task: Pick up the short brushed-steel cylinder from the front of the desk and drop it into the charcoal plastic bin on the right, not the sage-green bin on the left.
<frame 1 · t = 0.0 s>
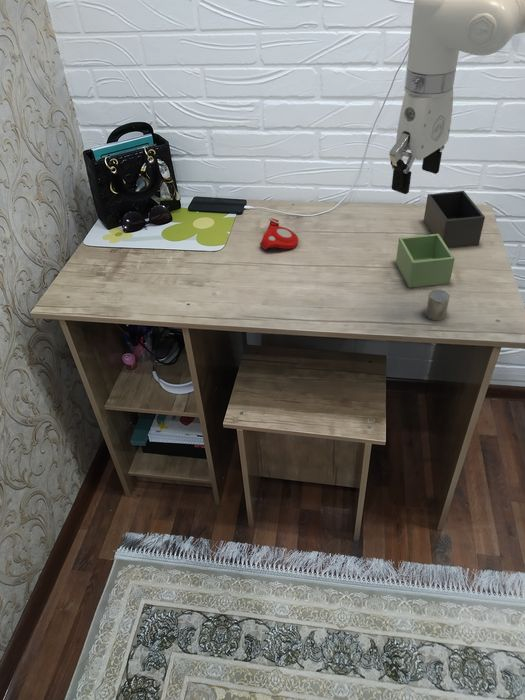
hand: (415, 181, 102), 29 cm above the table, tool pointing down, fingers open, 9 cm apart
right bin: (449, 232, 141), on the table
steel cylinder: (435, 314, 119), on the table
left bin: (421, 272, 130), on the table
tracker holder: (279, 240, 143), on the table
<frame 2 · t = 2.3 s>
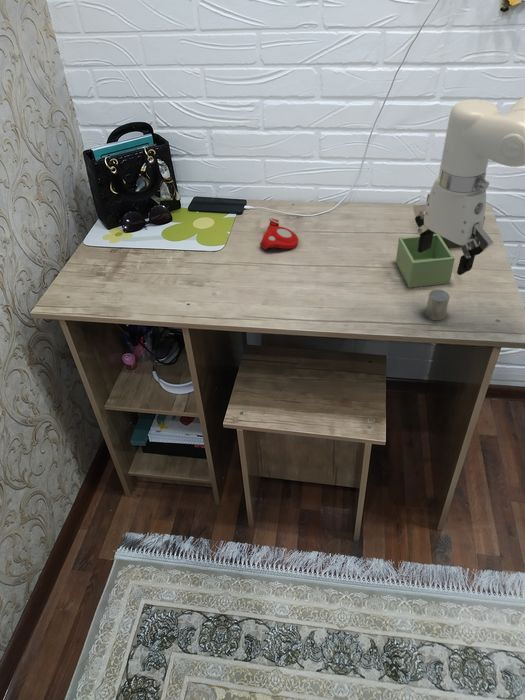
hand: (443, 260, 110), 13 cm above the table, tool pointing down, fingers open, 9 cm apart
nothing on the table moved.
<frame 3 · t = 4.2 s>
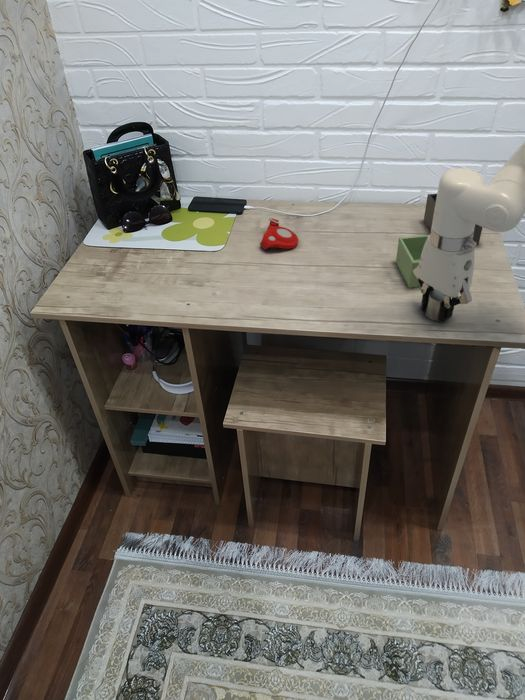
hand: (435, 312, 118), 1 cm above the table, tool pointing down, fingers closed on steel cylinder, 4 cm apart
steel cylinder: (435, 314, 119), on the table, touching gripper
everything else where it was.
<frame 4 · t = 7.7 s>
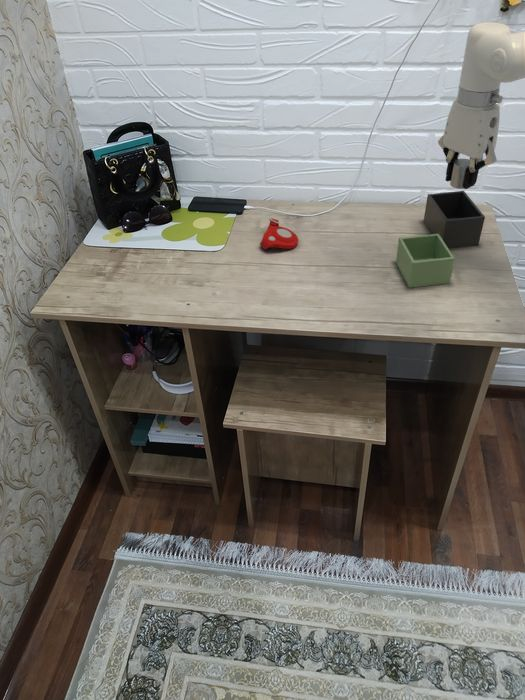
hand: (460, 182, 124), 18 cm above the table, tool pointing down, fingers closed on steel cylinder, 4 cm apart
steel cylinder: (459, 184, 124), point 17 cm above the table, touching gripper
everything else where it was.
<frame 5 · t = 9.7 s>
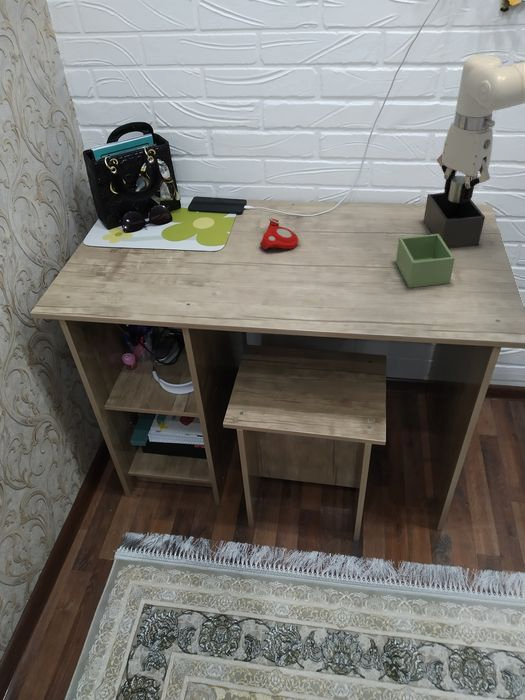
hand: (457, 197, 135), 10 cm above the table, tool pointing down, fingers closed on steel cylinder, 4 cm apart
steel cylinder: (456, 199, 135), point 9 cm above the table, touching gripper
everything else where it was.
when the fingers open (6 cm above the table, at t = 11.2 s): steel cylinder drops 4 cm, point 1 cm above the table.
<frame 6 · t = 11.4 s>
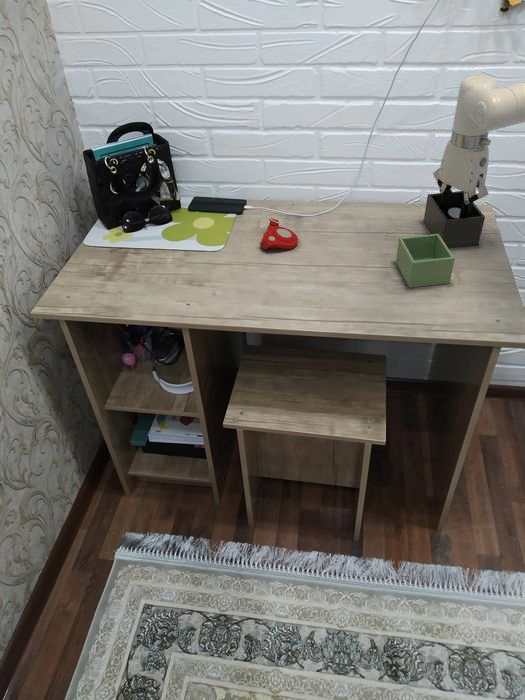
hand: (454, 211, 137), 6 cm above the table, tool pointing down, fingers open, 5 cm apart
steel cylinder: (450, 229, 140), point 1 cm above the table, tilted 10°, touching gripper
everything else where it was.
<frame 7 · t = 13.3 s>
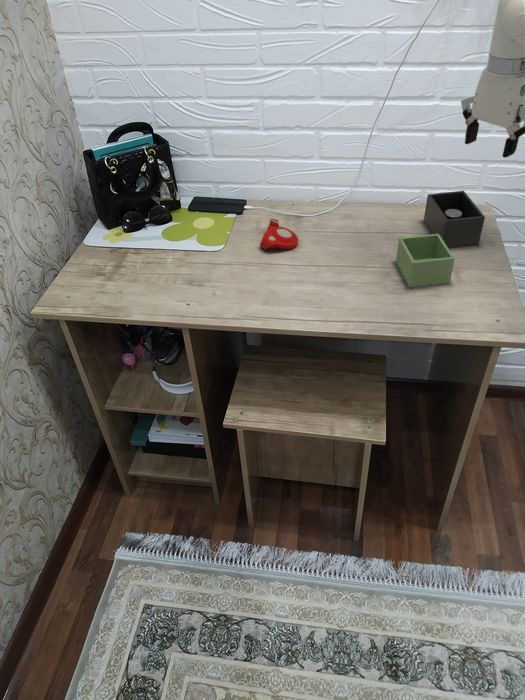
hand: (488, 148, 124), 23 cm above the table, tool pointing down, fingers open, 9 cm apart
steel cylinder: (450, 231, 141), point 1 cm above the table, touching right bin
everything else where it was.
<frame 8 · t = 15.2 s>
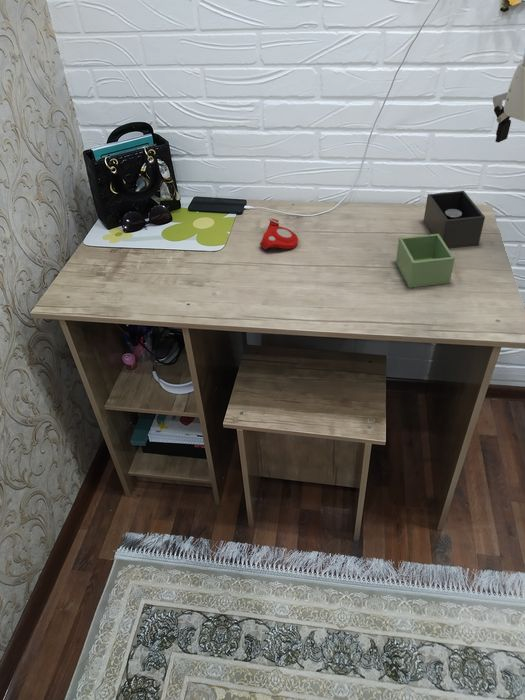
hand: (520, 147, 119), 24 cm above the table, tool pointing down, fingers open, 9 cm apart
nothing on the table moved.
at the end: steel cylinder inside the target area in the right bin (0.1 cm from its centre), point 0.6 cm above the right bin's base; the gripper is holding nothing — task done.
